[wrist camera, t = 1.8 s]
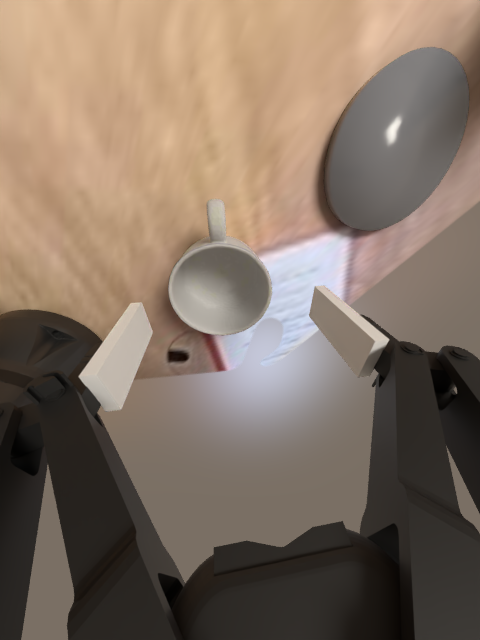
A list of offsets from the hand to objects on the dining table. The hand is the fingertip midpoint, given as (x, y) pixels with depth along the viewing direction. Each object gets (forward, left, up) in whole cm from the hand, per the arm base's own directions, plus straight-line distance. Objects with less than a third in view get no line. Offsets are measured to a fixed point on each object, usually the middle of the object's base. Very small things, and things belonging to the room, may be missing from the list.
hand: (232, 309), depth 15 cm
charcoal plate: (+20, +10, -13) cm, 26 cm away
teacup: (0, 0, -13) cm, 13 cm away
